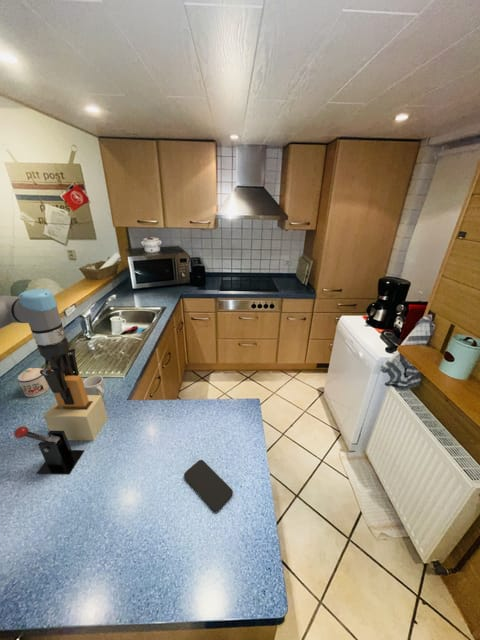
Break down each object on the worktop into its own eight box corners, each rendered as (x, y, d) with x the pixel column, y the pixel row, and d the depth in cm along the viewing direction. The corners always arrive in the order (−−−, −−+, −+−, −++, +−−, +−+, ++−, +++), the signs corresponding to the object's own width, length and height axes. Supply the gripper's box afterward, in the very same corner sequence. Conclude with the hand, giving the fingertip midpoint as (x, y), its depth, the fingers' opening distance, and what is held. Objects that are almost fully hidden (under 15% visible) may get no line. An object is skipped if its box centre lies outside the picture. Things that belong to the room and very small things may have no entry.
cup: (114, 397, 107) (110, 382, 104) (95, 408, 101) (91, 392, 98) (100, 387, 112) (96, 372, 109) (82, 397, 106) (77, 382, 103)
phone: (215, 512, 67) (182, 474, 76) (215, 514, 67) (182, 476, 76) (234, 491, 72) (201, 458, 81) (234, 493, 72) (201, 459, 81)
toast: (58, 406, 85) (48, 380, 80) (63, 400, 87) (53, 375, 82) (84, 406, 85) (76, 380, 80) (88, 401, 87) (81, 375, 82)
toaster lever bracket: (37, 475, 76) (23, 449, 71) (55, 452, 83) (44, 426, 78) (70, 476, 76) (59, 449, 71) (85, 452, 83) (76, 426, 78)
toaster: (54, 441, 87) (43, 415, 82) (71, 419, 96) (63, 394, 91) (94, 442, 87) (86, 416, 82) (108, 419, 96) (101, 395, 91)
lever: (10, 438, 72) (11, 431, 71) (19, 429, 75) (20, 422, 74) (53, 451, 75) (55, 444, 73) (60, 441, 78) (62, 435, 76)
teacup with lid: (21, 400, 104) (11, 378, 99) (27, 387, 111) (18, 365, 107) (56, 392, 109) (48, 370, 104) (59, 380, 116) (52, 359, 111)
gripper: (46, 354, 68) (69, 418, 78) (79, 328, 82) (95, 385, 92) (18, 354, 68) (45, 417, 78) (56, 328, 82) (75, 385, 92)
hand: (72, 400), depth 85 cm, fingers closed on toast, 2 cm apart
